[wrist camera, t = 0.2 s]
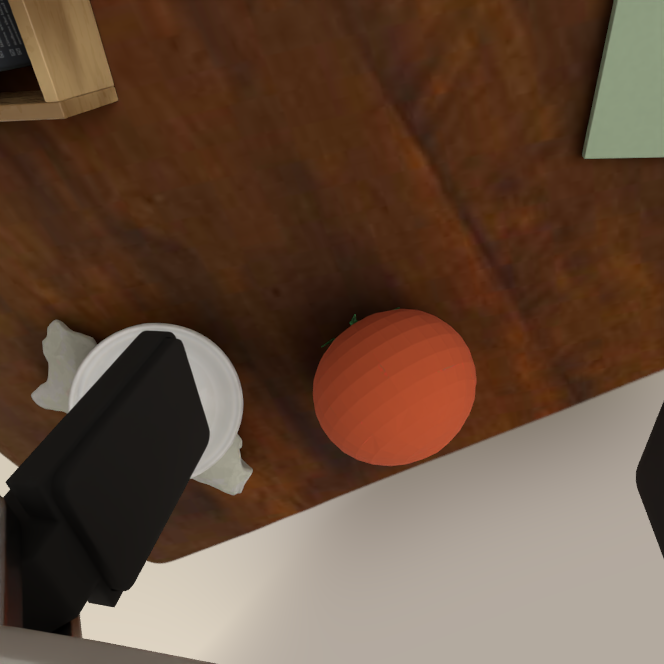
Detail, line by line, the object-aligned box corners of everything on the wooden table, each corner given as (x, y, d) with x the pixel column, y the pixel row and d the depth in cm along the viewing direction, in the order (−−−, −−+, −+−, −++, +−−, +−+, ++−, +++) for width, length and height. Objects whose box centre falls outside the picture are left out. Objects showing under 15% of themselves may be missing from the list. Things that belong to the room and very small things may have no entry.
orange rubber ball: (491, 430, 34) (410, 321, 38) (533, 378, 25) (421, 241, 29) (364, 508, 32) (294, 385, 36) (358, 484, 23) (266, 323, 27)
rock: (48, 390, 45) (238, 492, 47) (12, 421, 42) (220, 530, 43) (70, 294, 39) (289, 415, 40) (29, 320, 35) (272, 452, 37)
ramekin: (61, 356, 36) (36, 363, 31) (205, 299, 38) (203, 296, 33) (126, 490, 38) (112, 517, 32) (261, 427, 40) (267, 443, 35)
